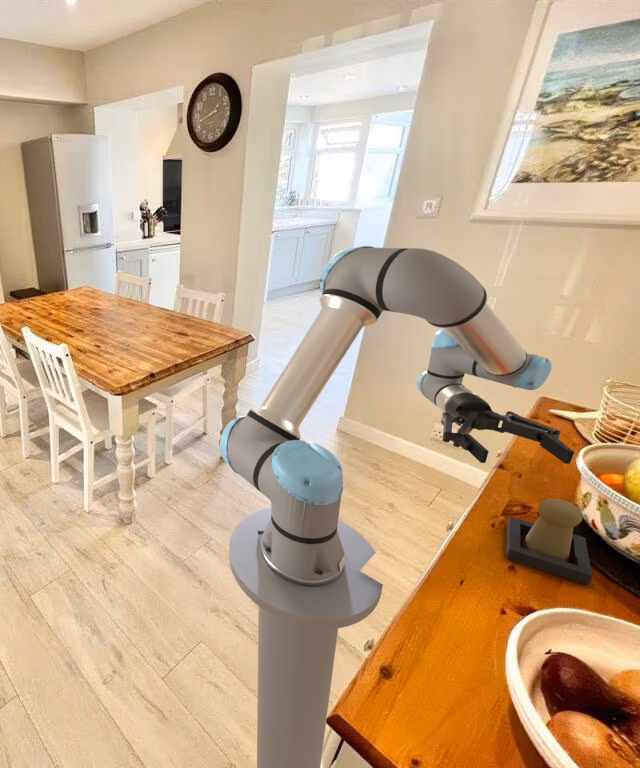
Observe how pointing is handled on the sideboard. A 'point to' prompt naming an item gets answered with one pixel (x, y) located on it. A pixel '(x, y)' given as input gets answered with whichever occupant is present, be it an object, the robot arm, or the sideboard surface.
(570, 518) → the cork
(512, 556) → the dock pad
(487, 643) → the sideboard surface
